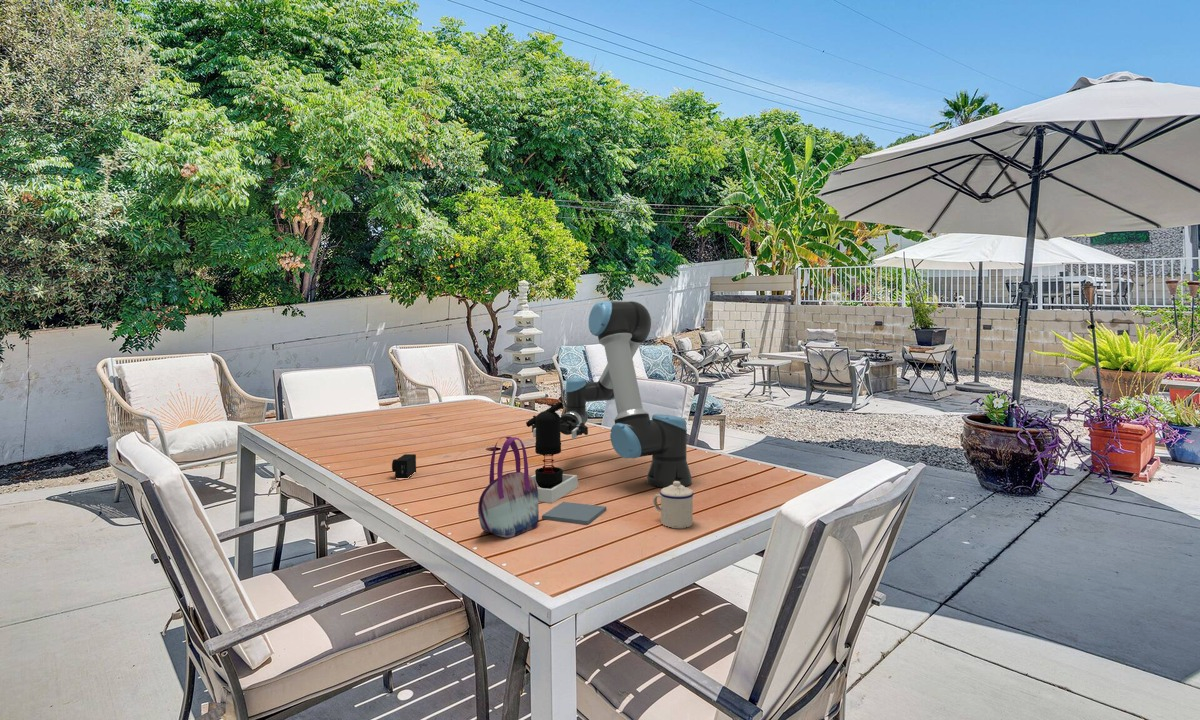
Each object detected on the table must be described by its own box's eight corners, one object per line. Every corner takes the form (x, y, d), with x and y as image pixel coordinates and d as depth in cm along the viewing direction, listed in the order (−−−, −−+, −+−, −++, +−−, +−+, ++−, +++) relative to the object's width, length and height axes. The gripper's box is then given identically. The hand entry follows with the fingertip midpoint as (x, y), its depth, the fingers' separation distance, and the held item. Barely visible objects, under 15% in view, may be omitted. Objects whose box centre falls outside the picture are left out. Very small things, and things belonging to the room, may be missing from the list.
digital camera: (401, 472, 228) (401, 454, 228) (416, 472, 228) (415, 453, 228) (391, 480, 218) (391, 460, 217) (407, 479, 218) (406, 460, 217)
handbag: (524, 515, 177) (523, 429, 175) (551, 522, 171) (550, 432, 169) (467, 537, 160) (465, 441, 158) (494, 545, 154) (492, 446, 152)
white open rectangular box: (577, 487, 206) (577, 475, 206) (552, 503, 189) (552, 490, 189) (540, 483, 212) (540, 471, 211) (512, 498, 194) (512, 485, 194)
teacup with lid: (699, 522, 170) (699, 480, 169) (682, 531, 163) (682, 488, 162) (662, 514, 177) (662, 474, 177) (644, 522, 170) (644, 481, 169)
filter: (571, 491, 201) (570, 400, 199) (556, 498, 193) (555, 403, 191) (535, 486, 207) (534, 398, 205) (520, 493, 199) (519, 401, 197)
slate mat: (606, 509, 182) (606, 506, 182) (587, 524, 169) (587, 521, 169) (563, 504, 187) (563, 501, 187) (542, 518, 174) (541, 515, 174)
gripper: (602, 434, 227) (589, 446, 207) (537, 431, 232) (518, 443, 212) (602, 414, 227) (589, 424, 206) (537, 412, 232) (518, 421, 211)
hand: (553, 434), depth 209 cm, fingers open, 13 cm apart
